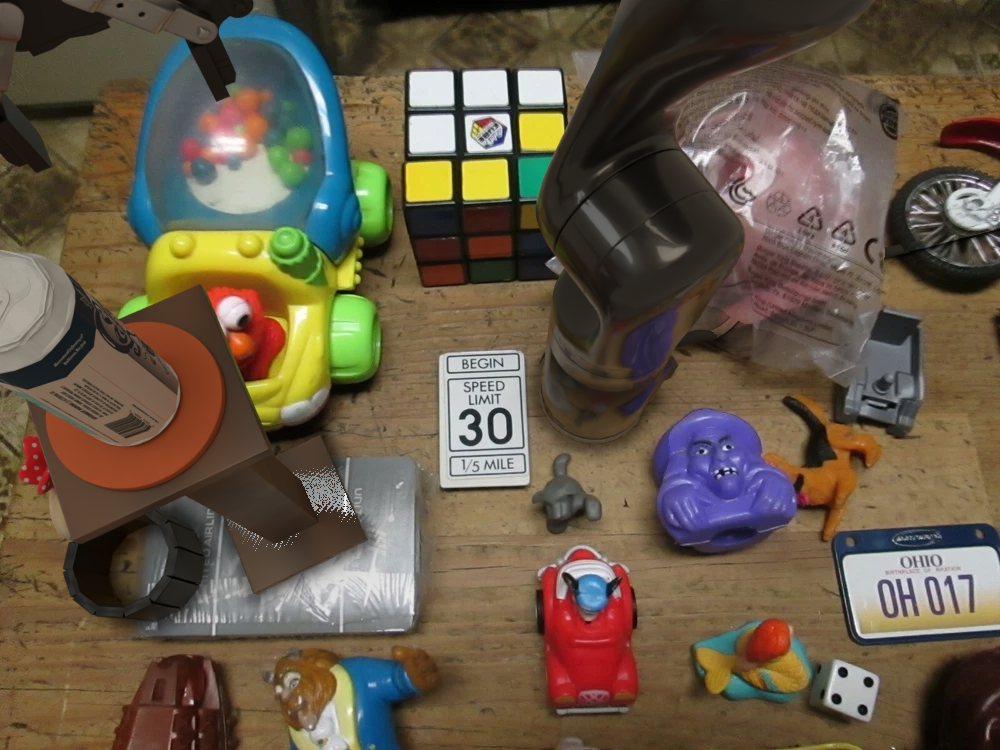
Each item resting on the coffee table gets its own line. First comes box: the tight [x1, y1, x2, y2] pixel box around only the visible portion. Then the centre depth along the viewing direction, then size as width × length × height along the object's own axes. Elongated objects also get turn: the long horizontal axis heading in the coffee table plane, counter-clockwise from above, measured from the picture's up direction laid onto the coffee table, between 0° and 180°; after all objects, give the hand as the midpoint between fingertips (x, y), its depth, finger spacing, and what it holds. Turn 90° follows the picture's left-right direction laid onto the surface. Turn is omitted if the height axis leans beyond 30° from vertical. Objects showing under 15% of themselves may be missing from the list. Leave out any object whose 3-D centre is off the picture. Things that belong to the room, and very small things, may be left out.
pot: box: [62, 508, 206, 623], centre depth 66 cm, size 9×9×6 cm
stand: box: [25, 283, 369, 596], centre depth 56 cm, size 10×10×31 cm
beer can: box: [0, 249, 180, 446], centre depth 35 cm, size 5×5×12 cm
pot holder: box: [46, 322, 225, 491], centre depth 41 cm, size 9×9×1 cm
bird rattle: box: [17, 435, 73, 542], centre depth 67 cm, size 6×11×9 cm
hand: (130, 120), depth 38 cm, fingers open, 8 cm apart
